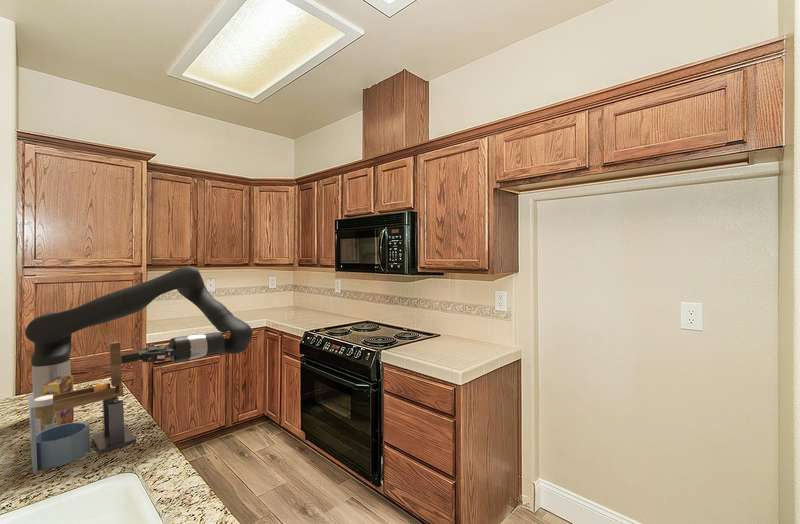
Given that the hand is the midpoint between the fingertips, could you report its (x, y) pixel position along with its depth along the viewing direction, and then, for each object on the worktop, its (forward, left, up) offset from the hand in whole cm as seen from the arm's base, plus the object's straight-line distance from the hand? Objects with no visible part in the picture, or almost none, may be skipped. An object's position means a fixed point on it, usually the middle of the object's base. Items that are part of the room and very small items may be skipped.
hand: (121, 359), depth 106 cm
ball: (-1, -5, -7) cm, 9 cm away
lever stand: (-1, -2, -22) cm, 23 cm away
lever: (-2, -7, -11) cm, 13 cm away
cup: (-4, -13, -22) cm, 26 cm away
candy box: (-23, -5, -23) cm, 33 cm away
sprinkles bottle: (-15, -11, -23) cm, 29 cm away
